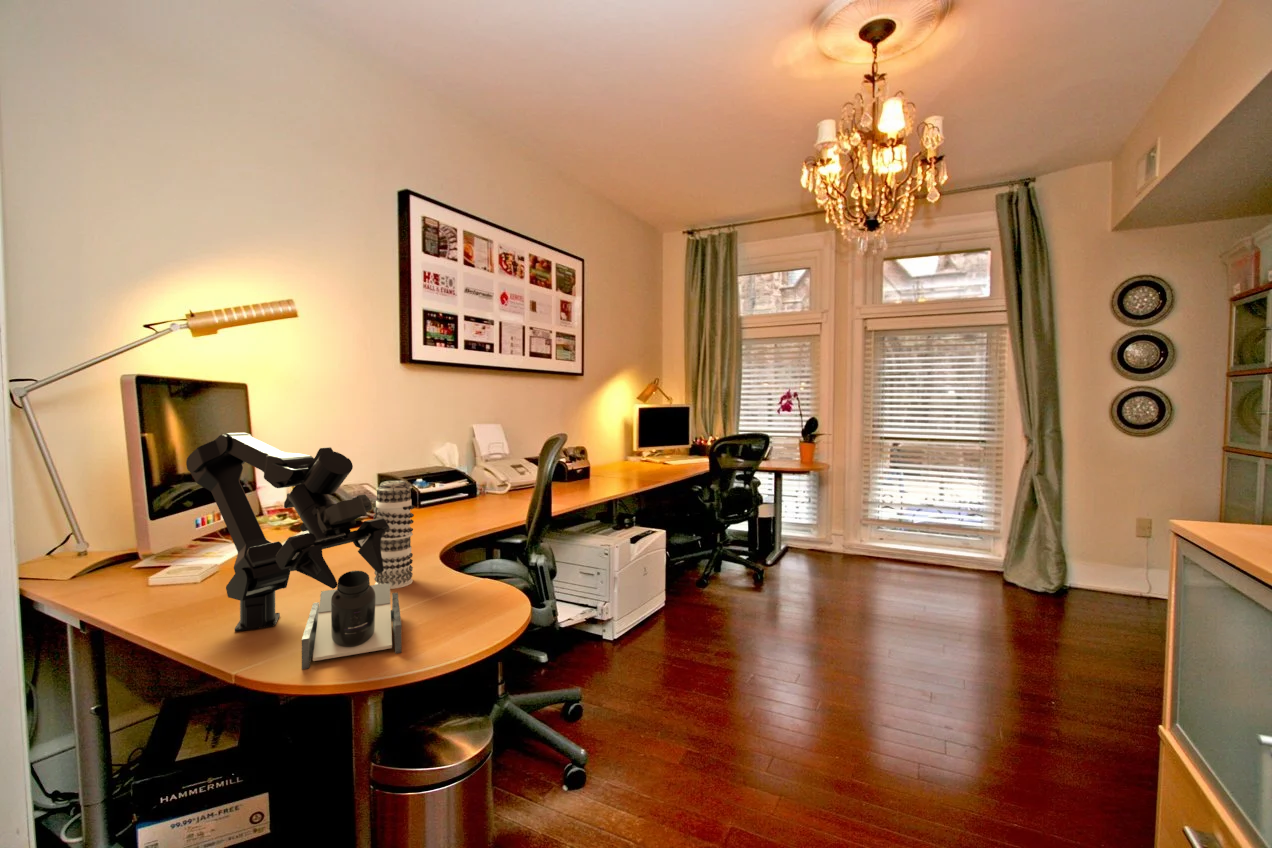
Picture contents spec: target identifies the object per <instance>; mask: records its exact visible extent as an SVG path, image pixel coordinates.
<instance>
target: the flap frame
mask: <svg viewBox="0 0 1272 848" xmlns="http://www.w3.org/2000/svg"><path fill="white" fill-rule="evenodd" d="M391 599H392V603H391V622H392V631H393V641H394V642H393V643H394V644H393V645H394V654H395V655H397V654H401V653H402V618H401V611H400V610H401V608H400V602H399V594H398V592H392V593H391ZM319 605H320V601H319V602H312V605H311V609H310V611H309V614H308V615H309V616H308V618H307V621H306V624H305V628H304V630H303V635H302V637H301V670H306V669H307V670H308V669H310V666H311V662H312V659H313V652H314V644H315V637H316V629H317V621H318V614H319Z"/></svg>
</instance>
